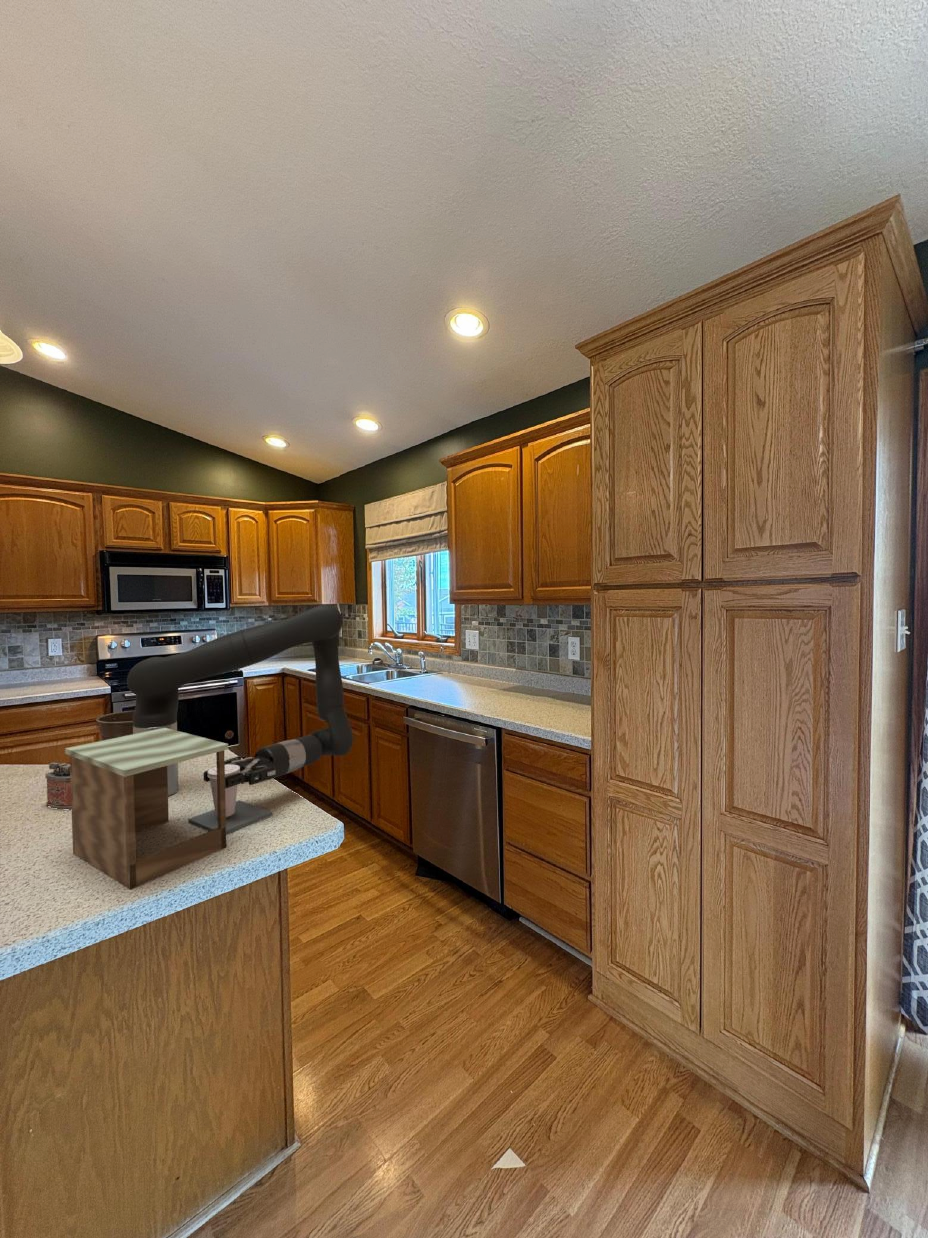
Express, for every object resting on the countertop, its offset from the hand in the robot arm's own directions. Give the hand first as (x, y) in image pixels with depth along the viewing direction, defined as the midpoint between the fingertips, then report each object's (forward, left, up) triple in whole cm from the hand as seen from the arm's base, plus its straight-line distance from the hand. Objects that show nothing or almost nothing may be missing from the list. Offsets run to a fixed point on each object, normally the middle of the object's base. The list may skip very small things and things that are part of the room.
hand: (213, 780), depth 108 cm
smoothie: (0, +2, -8) cm, 9 cm away
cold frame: (0, -12, -10) cm, 16 cm away
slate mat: (0, +4, -10) cm, 10 cm away
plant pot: (-49, +7, -10) cm, 50 cm away
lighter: (-39, -13, -10) cm, 42 cm away
